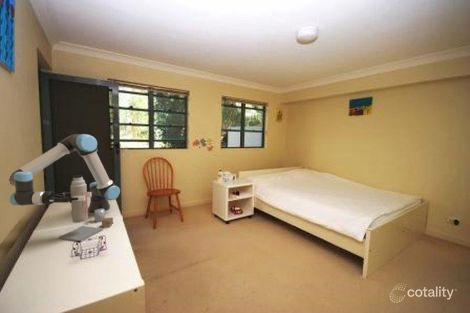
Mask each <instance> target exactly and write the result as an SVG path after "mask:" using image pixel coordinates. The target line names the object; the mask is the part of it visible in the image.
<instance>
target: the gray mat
mask: <svg viewBox="0 0 470 313" xmlns="http://www.w3.org/2000/svg"><path fill="white" fill-rule="evenodd" d="M102 231H104V228H102V227H94V226H86V225H82V226H80V227H77V228H75V229H73V230H71V231H69V232H66V233H64V234H62V235H59V236H58V239H59V240H66V241H73V242H78V241H82V240H83V241H85V240H87V239H89V238H91V237H92V236H94V235H97V234H99V233H101V232H102ZM83 241H82V242H83Z"/></svg>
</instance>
